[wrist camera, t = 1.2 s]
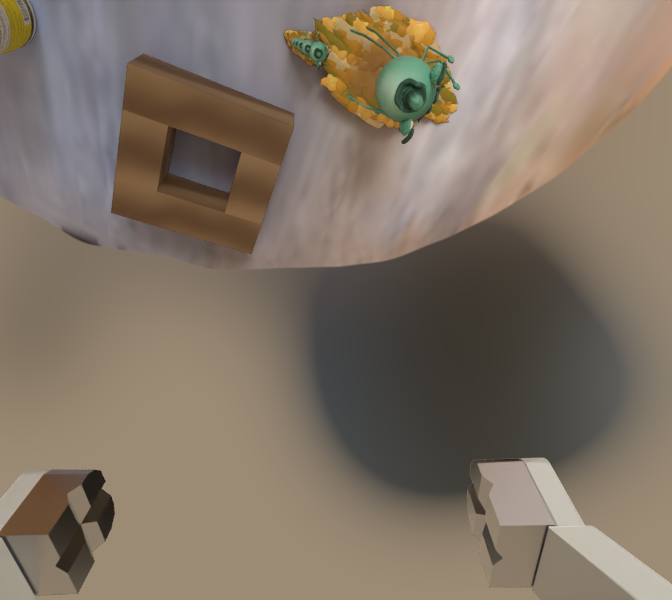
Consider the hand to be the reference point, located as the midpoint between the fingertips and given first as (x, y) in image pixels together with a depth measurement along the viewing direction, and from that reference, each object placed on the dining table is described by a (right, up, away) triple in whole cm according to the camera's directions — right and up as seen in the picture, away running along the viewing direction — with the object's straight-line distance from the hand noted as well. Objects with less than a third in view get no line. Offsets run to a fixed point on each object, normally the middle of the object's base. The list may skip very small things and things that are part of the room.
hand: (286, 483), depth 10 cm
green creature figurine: (+5, +26, +31) cm, 41 cm away
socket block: (-12, +19, +35) cm, 41 cm away
